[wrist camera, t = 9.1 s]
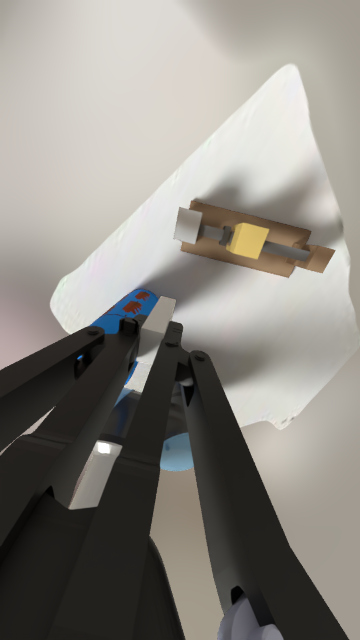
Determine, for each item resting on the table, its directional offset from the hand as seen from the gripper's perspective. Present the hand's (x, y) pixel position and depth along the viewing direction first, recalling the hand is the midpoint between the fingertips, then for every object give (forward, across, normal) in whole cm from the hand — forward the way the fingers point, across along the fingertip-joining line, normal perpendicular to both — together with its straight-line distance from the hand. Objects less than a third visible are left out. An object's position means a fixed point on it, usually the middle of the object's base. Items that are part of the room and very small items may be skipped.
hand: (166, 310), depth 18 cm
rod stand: (+29, -11, -8) cm, 32 cm away
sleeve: (+24, -9, -8) cm, 27 cm away
